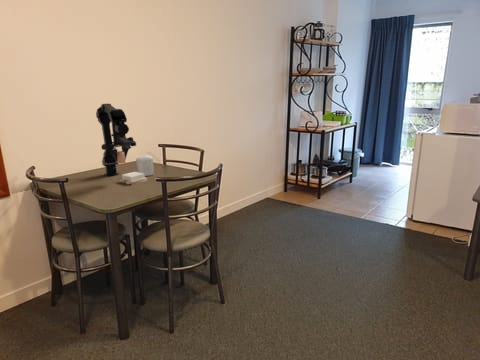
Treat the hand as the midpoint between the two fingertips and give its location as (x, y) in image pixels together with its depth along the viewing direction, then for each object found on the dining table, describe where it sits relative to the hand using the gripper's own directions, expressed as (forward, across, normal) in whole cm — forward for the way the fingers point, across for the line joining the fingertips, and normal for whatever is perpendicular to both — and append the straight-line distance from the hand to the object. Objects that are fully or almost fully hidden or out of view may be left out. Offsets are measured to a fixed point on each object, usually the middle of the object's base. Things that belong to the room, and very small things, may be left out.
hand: (120, 160), depth 203 cm
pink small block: (+1, 0, 0) cm, 1 cm away
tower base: (+14, +5, -3) cm, 15 cm away
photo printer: (+13, +18, +2) cm, 23 cm away
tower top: (+11, +5, -3) cm, 13 cm away
